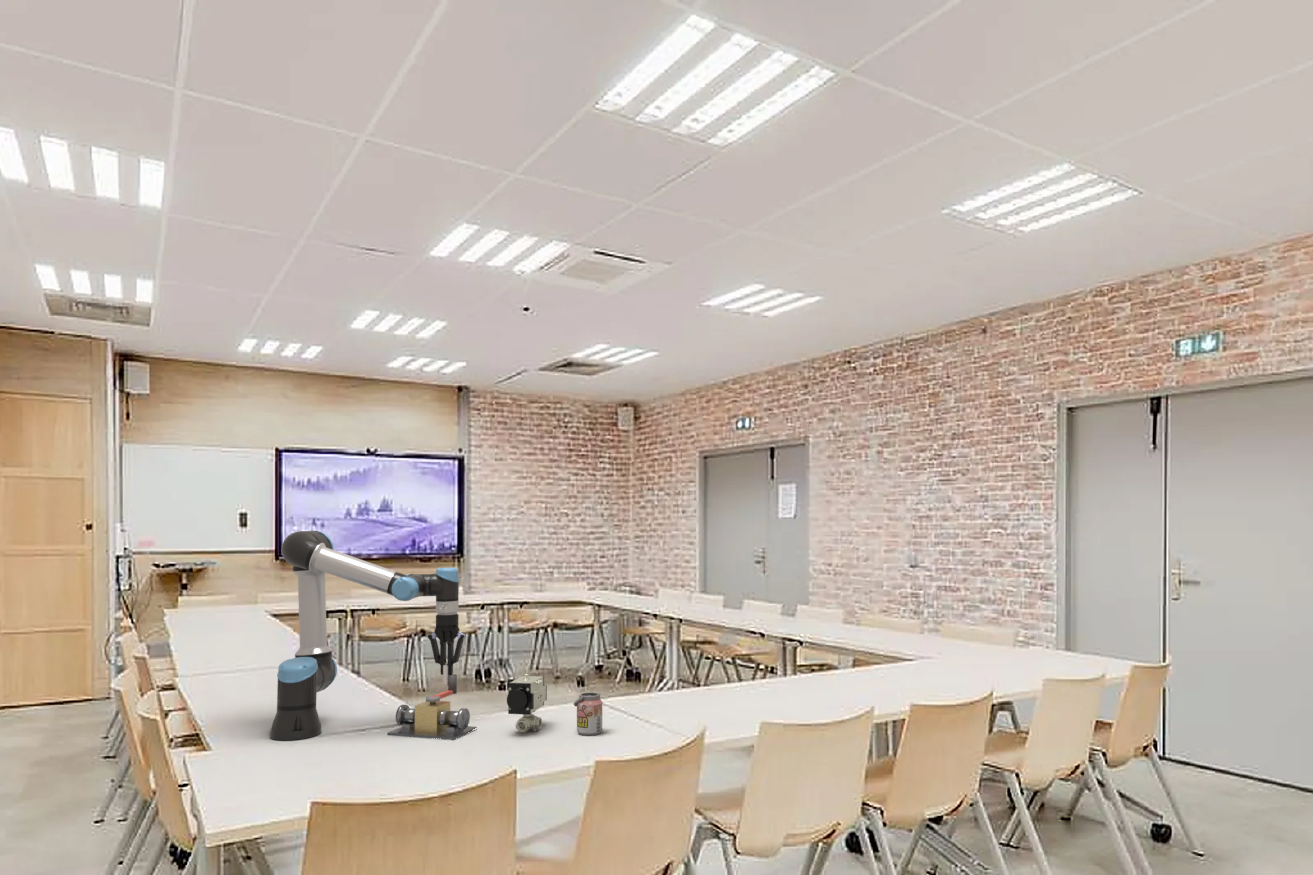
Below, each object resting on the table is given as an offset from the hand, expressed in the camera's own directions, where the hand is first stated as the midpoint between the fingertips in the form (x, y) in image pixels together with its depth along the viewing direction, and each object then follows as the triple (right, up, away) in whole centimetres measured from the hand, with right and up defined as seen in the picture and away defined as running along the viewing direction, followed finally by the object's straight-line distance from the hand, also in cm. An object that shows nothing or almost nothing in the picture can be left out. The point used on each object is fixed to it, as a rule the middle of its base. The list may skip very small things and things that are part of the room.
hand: (446, 684), depth 287 cm
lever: (0, -2, -7) cm, 8 cm away
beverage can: (+49, -11, -17) cm, 53 cm away
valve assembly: (-1, -11, -14) cm, 18 cm away
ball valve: (+30, -11, -13) cm, 34 cm away
